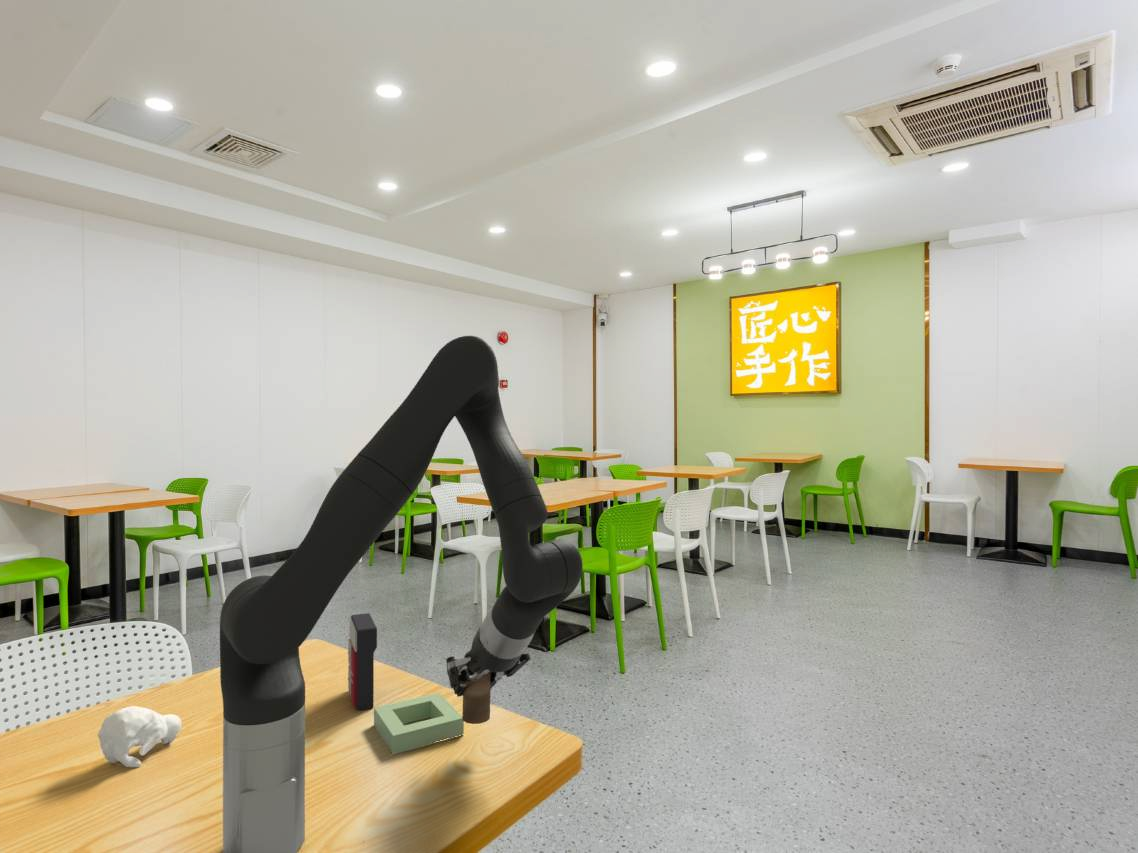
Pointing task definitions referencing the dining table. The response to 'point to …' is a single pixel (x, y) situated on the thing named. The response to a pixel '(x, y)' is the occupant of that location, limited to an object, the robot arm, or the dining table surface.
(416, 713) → the socket block
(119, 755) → the white animal figurine
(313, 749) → the dining table surface
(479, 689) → the walnut pin
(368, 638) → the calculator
